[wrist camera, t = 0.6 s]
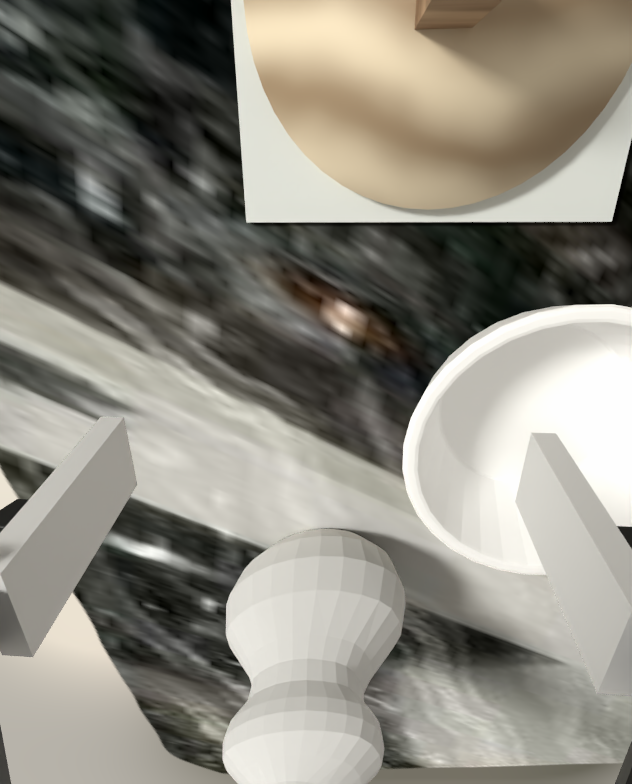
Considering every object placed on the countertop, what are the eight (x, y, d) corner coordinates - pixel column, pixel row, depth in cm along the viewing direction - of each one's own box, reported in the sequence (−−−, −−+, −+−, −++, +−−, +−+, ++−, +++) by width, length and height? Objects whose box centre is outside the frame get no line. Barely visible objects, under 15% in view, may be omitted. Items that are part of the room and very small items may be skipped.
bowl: (347, 356, 43) (346, 402, 35) (625, 215, 36) (695, 235, 29) (457, 540, 51) (475, 610, 43) (700, 450, 44) (770, 514, 37)
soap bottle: (385, 495, 49) (421, 915, 22) (411, 582, 53) (466, 1011, 27) (222, 528, 52) (88, 929, 26) (261, 607, 57) (180, 1013, 30)
